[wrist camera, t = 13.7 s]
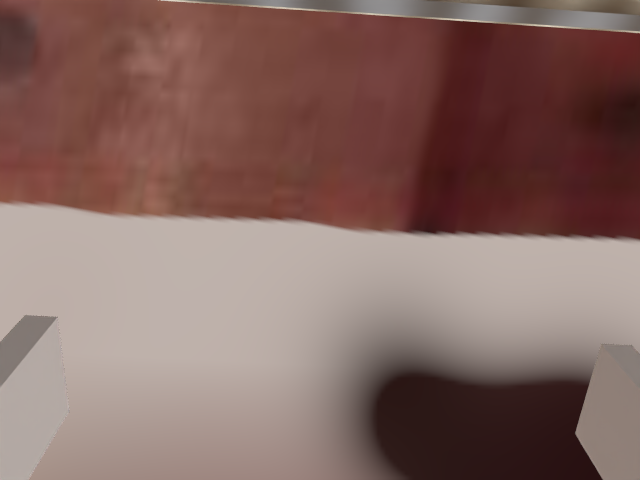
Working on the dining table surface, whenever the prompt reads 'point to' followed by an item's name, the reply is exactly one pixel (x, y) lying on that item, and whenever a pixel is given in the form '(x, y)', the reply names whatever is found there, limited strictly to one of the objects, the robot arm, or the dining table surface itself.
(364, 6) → the rail
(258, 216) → the dining table surface
